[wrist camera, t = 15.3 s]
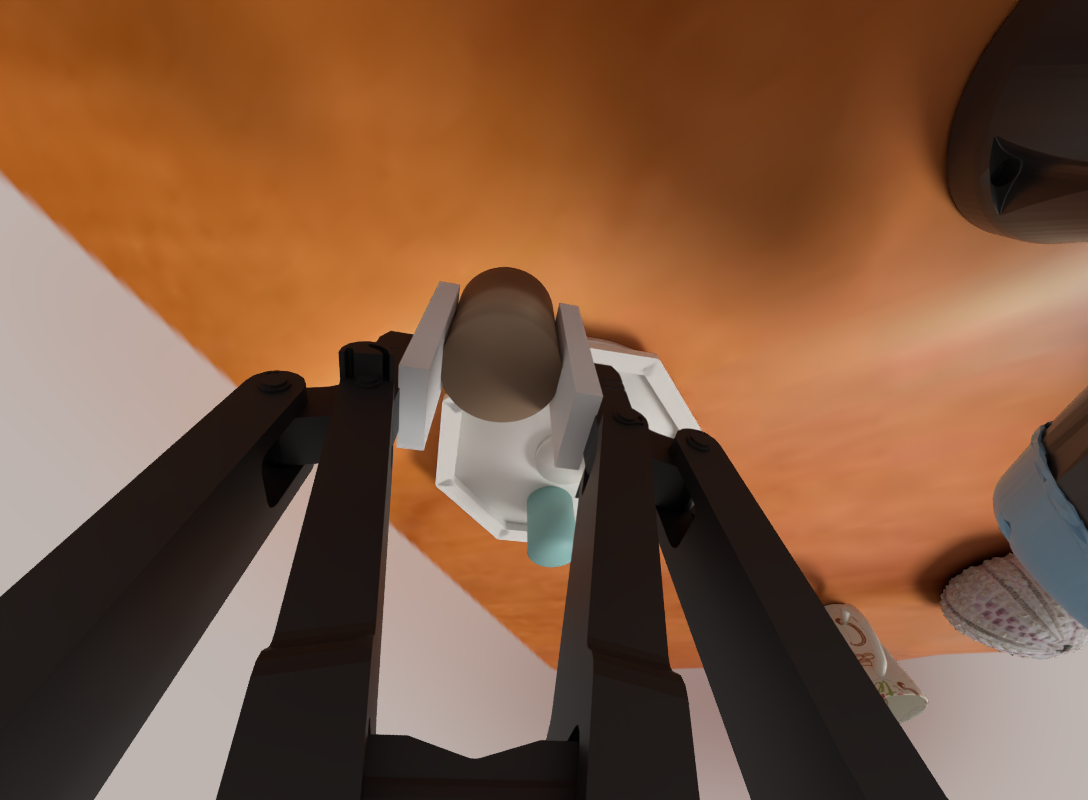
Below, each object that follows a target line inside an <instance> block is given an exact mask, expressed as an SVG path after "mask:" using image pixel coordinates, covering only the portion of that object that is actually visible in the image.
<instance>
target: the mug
mask: <svg viewBox="0 0 1088 800" xmlns="http://www.w3.org/2000/svg"><path fill="white" fill-rule="evenodd" d="M824 607H825V609H826V610H827V612H828V614H829V615H830V617H831V618H832V620H833V621H834V623H835V624H836V626H837V628H838V629H839V631H840V632H841V634H842V635H843V637H844V638H845V640H846V642H847V643H848V645H849V646H850V648H851V649H852V651H853V652H854V654H855V656H856V657H857V659H858V660H859V662H860V663H861V665H862V666H863V668H864V670H865V671H866V673H867V674H868V676H869V677H870V679H871V680H872V682H873V684H874V685H875V687H876V688H877V690H878V691H879V693H880V694H881V696H882V698H883V699H884V701H885V702H886V704H887V705H888V707H889V708H890V710H891V712H892V713H893V715H894V716H895V718H896V719H897V721H898V722H899V724H901V723H904V722H906V721H909V720H911V719H913V718H915V717H916V716H918V715H920V714H921V713H922V712H923V711H924V710H925V709H926V708H927V706H928V700H927V698H926V697H925V695H924V694H923V692H922V691H921V690H920V689H919V688H918V686H917V685H916V684H915V683H914V681H913V680H912V679H911V678H910V677H909V675H908V674H907V673H906V672H905V671H904V669H903V668H902V667H901V666H900V665H899V664H898V662H897V661H896V660H895V659H894V658H893V656H892V655H891V654H890V653H889V652H888V650H887V649H886V648H885V647H884V646H883V644H882V643H881V642H880V641H879V640H878V637H877V635H876V634H875V632H874V630H873V628H872V627H871V625H870V623H869V622H868V621H867V619H866V618H865V617H864V615H863V614H862V613H861V612H860V611H859V610H858V609H857V608H856V607H855V606H853V605H851V604H831V605H826V606H824Z"/></svg>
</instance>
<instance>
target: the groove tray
mask: <svg viewBox="0 0 1088 800" xmlns="http://www.w3.org/2000/svg"><path fill="white" fill-rule="evenodd" d="M587 340H588V343H589V347H590V351H591V354H592V358H593V362H594V363H598V364H604V365H610V366H612V367H613V368H614V369H615V370H616V371H617V372H618V373H619V374H620V376H621V379H622V382H623V383H622V384H623V385H624V387H625V391H626V393H627V396H628V398H629V401H630V404H631V407H632V409H635V410H636V411H638V412H639V413H641V414H642V415H643V416H644V417H645V418H646V419H647V422H648V425H649V429H650V430H652V431H654V432H656V433H659V434H662V435H665V436H667V437H670V438H673V439H674V437H675V435H676V433H677V431H678V430H681V429H684V428H691V429H695V430H700V431H702V430H701V428H700V427H699V425H698V423H697V422H696V420H695V418H694V417H693V415H692V413H691V411H690V410H689V408H688V406H687V405H686V403H685V401H684V400H683V398H682V396H681V395H680V393H679V391H678V389H677V387H676V386H675V384H674V383H673V381H672V379H671V378H670V376H669V374H668V373H667V371H666V369H665V368H664V366H663V364H662V363H661V361H660V359H659V357H658V356H657V354H655V353H649V352H643V351H637V350H633V349H631V348H629V347H627V346H624V345H621V344H618V343H616V342H612V341H608V340H604V339H599V338H593V337H587ZM584 469H585V462H584V456H583V459H582V462H581V465H580V468H579V470H573V469H565V468H557V467H555V466H554V454H553V442H552V430H551V419H550V407H549V404H548V405H547V406H546V407H545V408H543V409H542V410H541V411H539V412H538V413H536V414H535V415H533V416H531V417H528V418H526V419H523V420H519V421H514V422H502V423H500V422H491V421H486V420H482V419H479V418H476V417H474V416H472V415H470V414H468V413H466V412H465V411H463V410H462V409H461V408H459V407H458V406H457V405H456V404H455V403H454V402H453V401H452V400H451V399H450V397H449V396H448V394H447V393H446V394H445V395H444V398H443V401H442V412H441V424H440V436H439V448H438V460H437V472H436V484H435V485H436V486H437V487H438V488H439V489H440V490H441V491H442V492H444V493H445V494H446V495H447V496H448V497H449V498H451V499H452V500H453V501H454V502H455V503H456V504H457V505H459V506H460V507H461V508H462V509H463V510H464V511H466V512H467V513H468V514H469V515H470V516H471V517H472V518H474V519H475V520H476V521H477V522H478V523H479V524H481V525H482V526H483V527H484V528H485V529H486V530H487V531H489V532H490V533H491V534H492V535H493V536H494V537H496V538H497V539H500V540H510V541H521V542H527V499H528V497H529V496H530V494H531V493H532V492H534V491H535V490H537V489H539V488H542V487H547V486H555V487H560V488H562V489H564V490H566V491H567V492H568V493H569V494H570V495H571V497H572V501H573V508H574V516H575V523H576V515H577V507H578V499H579V498H575V496H576V493H577V490H578V487H579V484H580V481H581V478H582V475H583V472H584Z"/></svg>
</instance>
